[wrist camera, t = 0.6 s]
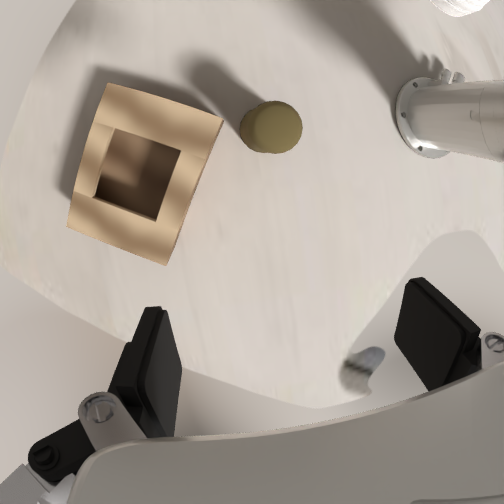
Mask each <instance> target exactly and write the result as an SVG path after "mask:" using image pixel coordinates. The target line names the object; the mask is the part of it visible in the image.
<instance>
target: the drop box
mask: <svg viewBox="0 0 504 504" xmlns="http://www.w3.org/2000/svg"><path fill="white" fill-rule="evenodd" d="M223 122H224V121H223V118H220V117H218V116H215V115H212V114H210V113H207V112H204V111H201V110H198V109H196V108H193V107H190V106H187V105H184V104H181V103H178V102H175V101H172V100H169V99H166V98H162V97H159V96H156V95H153V94H149V93H146V92H142V91H139V90H135V89H132V88H128V87H124V86H120V85H116V84H112V83H107V85H106V88H105V90H104V93H103V95H102V98H101V101H100V103H99V106H98V109H97V111H96V114H95V117H94V120H93V123H92V126H91V129H90V132H89V135H88V138H87V141H86V145H85V148H84V151H83V155H82V158H81V162H80V166H79V170H78V174H77V178H76V182H75V186H74V190H73V195H72V199H71V204H70V209H69V215H68V220H67V226H66V227H68V228H71V229H73V230H76V231H78V232H80V233H83V234H85V235H88V236H90V237H93V238H95V239H97V240H100V241H102V242H105V243H107V244H110V245H112V246H115V247H117V248H120V249H123V250H125V251H128V252H130V253H133V254H135V255H138V256H141V257H143V258H146V259H149V260H151V261H154V262H156V263H159V264H162V265H165V266H166V265H167V263H168V261H169V258H170V256H171V254H172V252H173V250H174V247H175V245H176V242H177V239H178V236H179V233H180V230H181V227H182V225H183V222H184V219H185V216H186V214H187V211H188V208H189V206H190V203H191V200H192V198H193V195H194V193H195V190H196V187H197V185H198V182H199V180H200V177H201V175H202V172H203V170H204V167H205V165H206V162H207V160H208V157H209V155H210V153H211V150H212V148H213V146H214V143H215V141H216V139H217V136H218V134H219V132H220V129H221V127H222V125H223Z"/></svg>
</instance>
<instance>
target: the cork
mask: <svg viewBox="0 0 504 504" xmlns="http://www.w3.org/2000/svg"><path fill="white" fill-rule="evenodd" d="M302 129H303V127H302V121H301V118H300V116H299V114H298V112H297V111H296V110H295V109H294V108H293V107H292V106H290V105H288V104H286V103H284V102H280V101H269V102H265V103H263V104H261V105H259V106H258V107H257V108H255V109H253V110H250V111H249V112H248V113H247V114H246V115H245V116H244V118H243V119H242V121H241V125H240V134H241V138H242V140H243V142H244V143H245V144H246V145H247V146H248V147H249V148H250V149H252V150H254V151H256V152H261V153H267V152H268V153H274V154H277V153H284V152H286V151H288V150H290V149H292V148H293V147H294V146H295V145H296V144H297V143H298V141H299V139H300V137H301V134H302Z"/></svg>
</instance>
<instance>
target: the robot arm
mask: <svg viewBox="0 0 504 504" xmlns="http://www.w3.org/2000/svg"><path fill="white" fill-rule="evenodd" d="M450 77H451V71H449V70H448V69H443V72H442V77H441V79H439V80H433V79H431V78H426V77H421V78H415V79H412V80H410V81H408V82H407V83H406V84H405V85H404V86H403V87H402V89H401V90H400V92H399V94H398V97H397V102H396V120H397V124H398V128H399V130H400V133H401V135H402V137H403V139H404V140H405V142H406V143H407V145H408V146H409V147H410V148H411V149H412V150H413V151H414V152H416V153H417V154H419V155H421V156H423V157H427V158H433V159H435V158H441V157H443V156H445V155H447V154H448V153H449V152H456V153H461V154H466V155H471V156H476V157H480V158H485V159H489V160H493V161H497V162H501V163H504V80H493V81H476V82H464V81H465V77H464V75H462V74H461V73H458V72H455V73H454V76H453V79H452V84H448V82H449V80H450ZM480 331H481V329H480V328H479V327H478V326H477V325H476V324H475V323H474V322H473V321H472V320H471V319H470V318H469V317H467V316H466V315H465V314H464V313H463V312H462V311H461V310H460V309H459V308H458V307H457V306H456V305H454V304H453V303H452V302H451V301H450V300H449V299H448V298H447V297H446V296H444V295H443V294H442V293H441V292H440V291H439V290H438V289H436V288H435V287H434V286H433V285H432V284H431V283H429V282H428V281H427V280H426V279H425V278H423V277H419V278H413V279H410V280H409V282H408V283H407V284H406V286H405V290H404V295H403V300H402V305H401V309H400V314H399V318H398V323H397V327H396V331H395V335H394V340H395V343H396V345H397V346H398V347H399V349H400V350H401V352H402V353H403V354H404V356H405V357H406V358H407V360H408V362H409V363H410V365H411V366H412V367H413V369H414V370H415V372H416V373H417V375H418V376H419V378H420V379H421V381H422V382H423V383H424V385H425V386H426V388H427V389H428V391H429V392H426V393H423V394H421V395H418V396H415V397H412V398H409V399H406V400H403V401H400V402H397V403H394V404H390V405H387V406H384V407H380V408H377V409H373V410H370V411H366V412H362V413H358V414H354V415H350V416H346V417H342V418H337V419H332V420H328V421H323V422H318V423H312V424H307V425H301V426H295V427H290V428H282V429H276V430H267V431H258V432H249V433H237V434H224V435H208V436H181V437H174V430H175V421H176V413H177V404H178V396H179V390H180V382H181V375H182V365H181V361H180V358H179V354H178V351H177V347H176V343H175V340H174V336H173V332H172V328H171V324H170V320H169V316H168V312H167V310H162V308H161V307H160V306H156V307H145V309H144V312H143V314H142V316H141V319H140V321H139V324H138V326H137V329H136V331H135V334H134V336H133V339H132V341H131V342H128V343H126V345H125V347H124V350H123V352H122V354H121V357H120V359H119V362H118V365H117V367H116V370H115V372H114V375H113V378H112V381H111V383H110V386H109V389H108V392H96V393H94V394H91V395H89V396H88V397H86V398H85V399H84V400H83V401H82V402H81V404H80V406H79V408H78V416H79V419H78V420H76V421H75V422H73V423H71V424H69V425H67V426H66V427H64V428H62V429H60V430H58V431H56V432H55V433H53V434H51V435H49V436H47V437H45V438H43V439H41V440H39V441H38V442H36V443H35V444H34V445H33V446H32V447H31V449H30V451H29V454H28V462H29V463H28V464H27V465H26V466H25V465H24V464H22V465H20V466H19V467H18V468H17V469H16V470H15V471H14V472H13V473H12V474H11V475H10V476H9V477H8V478H7V479H6V480H5V481H3V482H2V483H1V484H0V504H504V336H503V335H501V334H499V333H495V332H488V333H486V334H484V335H483V336H482V338H481V339H480V338H479V337H478V336H479V334H480Z"/></svg>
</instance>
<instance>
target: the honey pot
mask: <svg viewBox="0 0 504 504" xmlns="http://www.w3.org/2000/svg"><path fill="white" fill-rule="evenodd" d="M429 1H430V2H431V3H432V4H434V5H435V6H436V7H437V8H438V9H440V10H441V11H443V12H444V13H446V14H448V15H451V16H454V17H461V16H464V15H467V14H470V13H472V12H475V11H479V10H480V9H482V8H483V5H485V4H486V3H487V2H488V1H490V0H429Z"/></svg>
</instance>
